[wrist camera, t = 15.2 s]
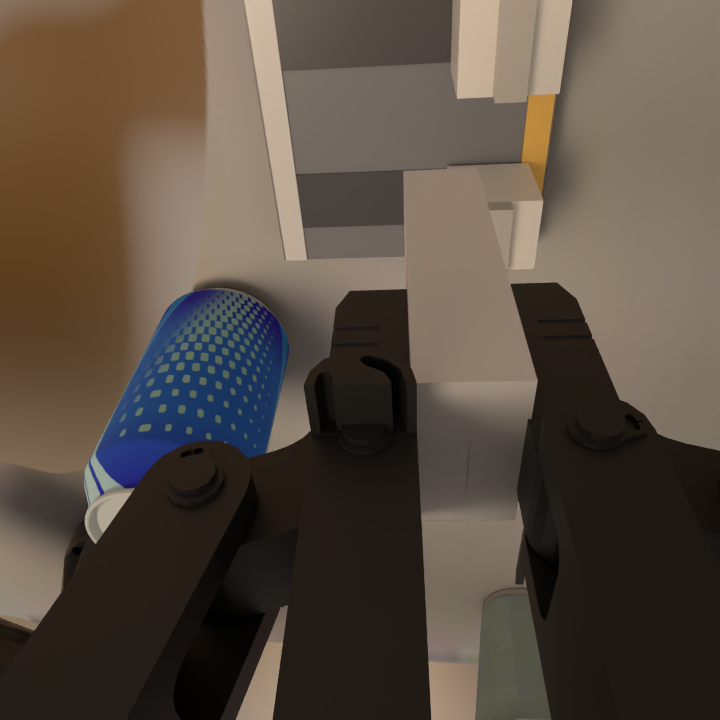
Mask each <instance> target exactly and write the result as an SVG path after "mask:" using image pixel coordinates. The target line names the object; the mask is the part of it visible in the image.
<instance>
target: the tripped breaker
mask: <svg viewBox="0 0 720 720" xmlns="http://www.w3.org/2000/svg"><path fill="white" fill-rule="evenodd" d="M572 1H573V0H453V4H452V37H451V74H452V79H453V83H454V88H455V92H456V97H457V99H462V98H483V97H493V100H494V103H516V102H526V101H527V95H545V94H559V93H560V86H561V79H562V72H563V65H564V58H565V51H566V43H567V36H568V29H569V22H570V15H571V8H572Z"/></svg>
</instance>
